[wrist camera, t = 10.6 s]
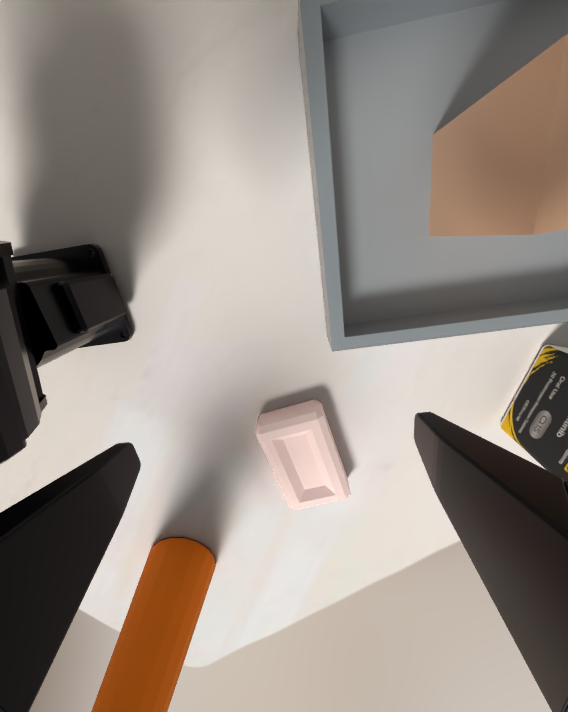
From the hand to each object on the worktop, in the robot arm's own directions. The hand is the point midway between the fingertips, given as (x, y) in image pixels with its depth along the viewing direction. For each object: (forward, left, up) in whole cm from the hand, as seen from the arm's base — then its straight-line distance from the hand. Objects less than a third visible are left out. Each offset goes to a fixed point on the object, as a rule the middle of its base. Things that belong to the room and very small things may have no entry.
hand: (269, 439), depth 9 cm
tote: (+12, +7, -12) cm, 18 cm away
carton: (+12, +7, -11) cm, 18 cm away
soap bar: (0, -11, -13) cm, 17 cm away
